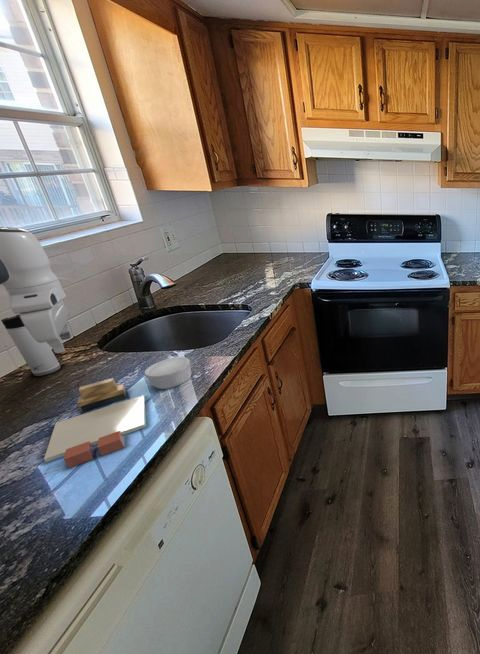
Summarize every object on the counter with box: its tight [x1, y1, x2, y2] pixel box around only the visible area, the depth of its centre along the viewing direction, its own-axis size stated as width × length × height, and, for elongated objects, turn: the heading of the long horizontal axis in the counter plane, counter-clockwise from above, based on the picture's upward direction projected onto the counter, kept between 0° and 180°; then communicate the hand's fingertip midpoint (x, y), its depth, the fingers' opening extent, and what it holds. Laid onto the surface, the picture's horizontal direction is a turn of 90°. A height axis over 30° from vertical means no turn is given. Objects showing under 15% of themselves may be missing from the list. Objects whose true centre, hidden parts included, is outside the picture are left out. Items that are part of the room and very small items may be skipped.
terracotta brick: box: [97, 431, 126, 456], centre depth 85 cm, size 4×4×2 cm
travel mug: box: [1, 313, 61, 377], centre depth 114 cm, size 6×7×20 cm
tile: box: [43, 394, 147, 463], centre depth 92 cm, size 18×16×1 cm
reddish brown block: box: [63, 441, 95, 469], centre depth 82 cm, size 4×4×2 cm
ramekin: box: [143, 356, 192, 390], centre depth 109 cm, size 11×11×5 cm
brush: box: [76, 377, 127, 413], centre depth 100 cm, size 10×4×6 cm, turn 128°
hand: (64, 344), depth 94 cm, fingers open, 8 cm apart
